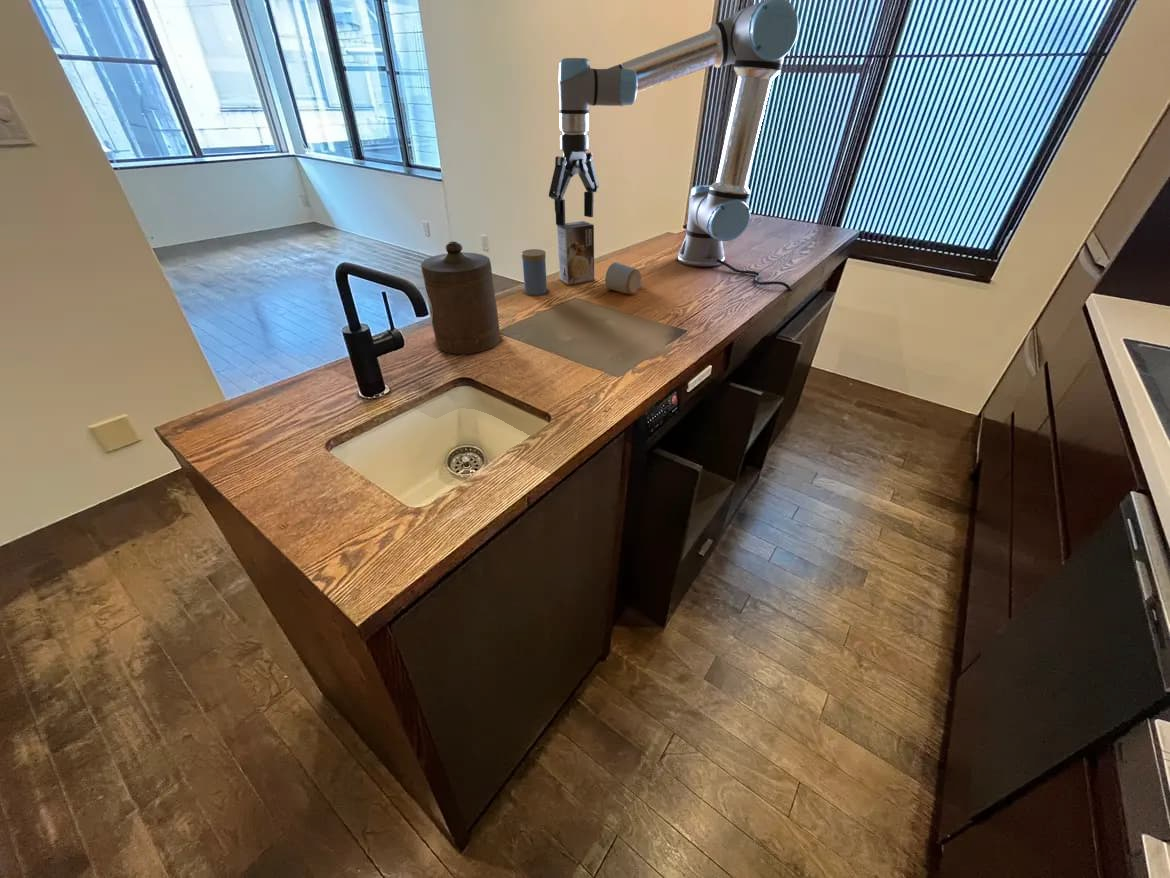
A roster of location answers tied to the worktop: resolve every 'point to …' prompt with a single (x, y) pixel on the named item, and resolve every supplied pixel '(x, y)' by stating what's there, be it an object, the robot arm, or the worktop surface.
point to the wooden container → (461, 300)
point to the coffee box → (576, 252)
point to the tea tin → (534, 271)
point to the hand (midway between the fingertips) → (575, 220)
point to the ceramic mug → (623, 278)
